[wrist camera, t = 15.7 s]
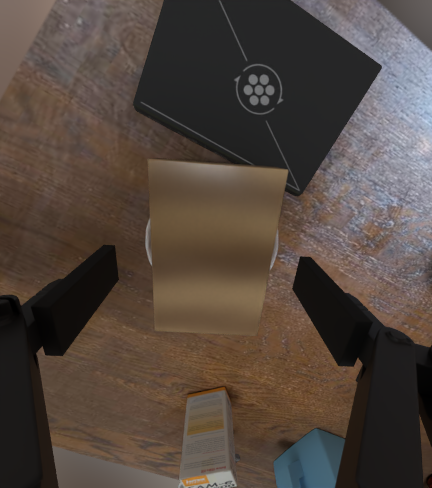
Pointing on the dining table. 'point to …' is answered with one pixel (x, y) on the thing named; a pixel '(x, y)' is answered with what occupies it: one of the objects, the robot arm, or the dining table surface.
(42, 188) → the dining table surface
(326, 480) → the container
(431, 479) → the mug
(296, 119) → the book
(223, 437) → the supplement box
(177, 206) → the brown wooden block
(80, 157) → the dining table surface
